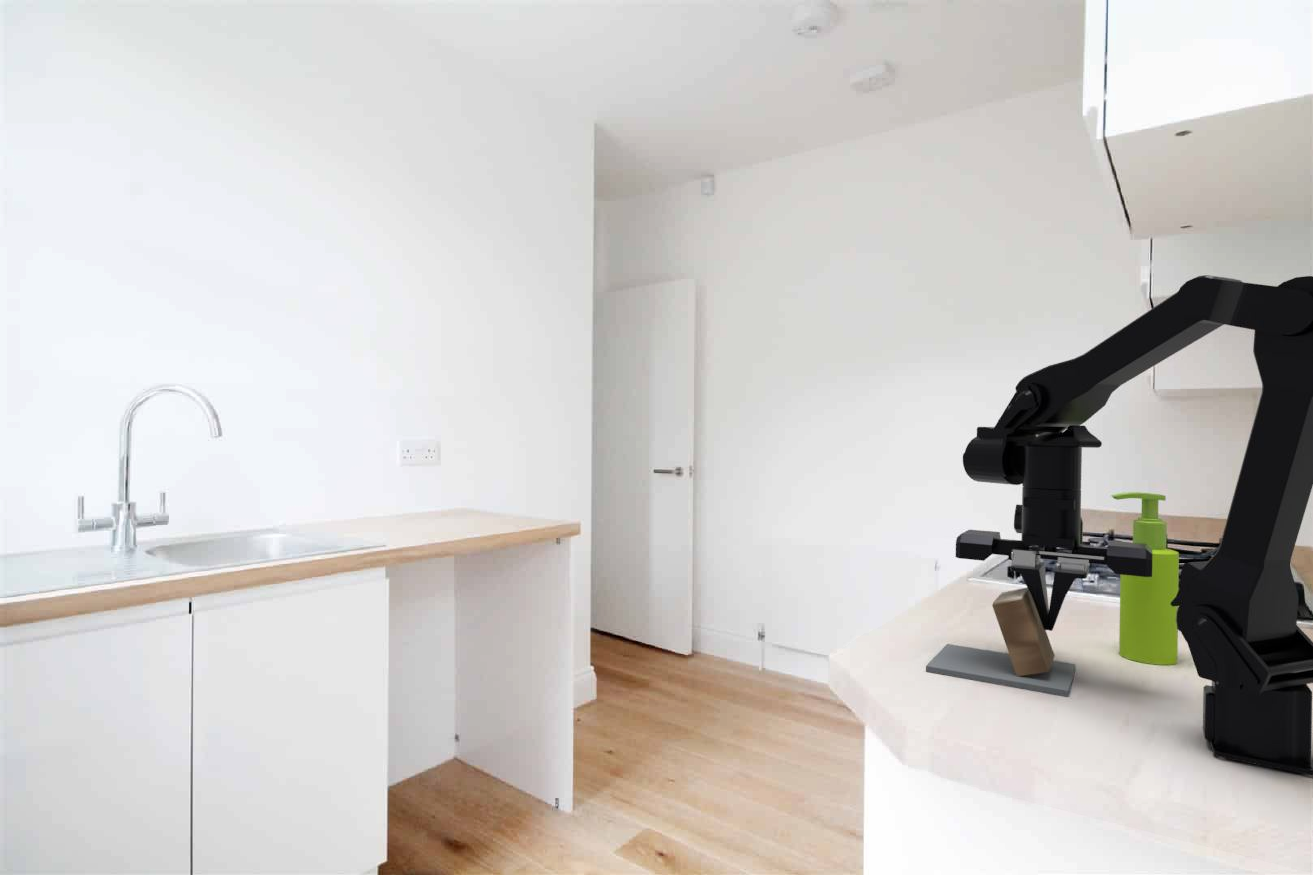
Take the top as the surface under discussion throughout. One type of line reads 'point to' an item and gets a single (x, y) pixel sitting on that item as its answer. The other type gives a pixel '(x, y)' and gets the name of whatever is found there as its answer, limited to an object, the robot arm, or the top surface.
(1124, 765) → the top surface
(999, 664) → the mat
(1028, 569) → the robot arm
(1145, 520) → the soap dispenser
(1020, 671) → the walnut slab
